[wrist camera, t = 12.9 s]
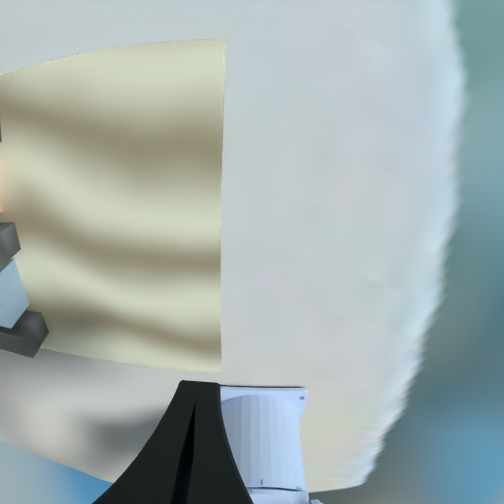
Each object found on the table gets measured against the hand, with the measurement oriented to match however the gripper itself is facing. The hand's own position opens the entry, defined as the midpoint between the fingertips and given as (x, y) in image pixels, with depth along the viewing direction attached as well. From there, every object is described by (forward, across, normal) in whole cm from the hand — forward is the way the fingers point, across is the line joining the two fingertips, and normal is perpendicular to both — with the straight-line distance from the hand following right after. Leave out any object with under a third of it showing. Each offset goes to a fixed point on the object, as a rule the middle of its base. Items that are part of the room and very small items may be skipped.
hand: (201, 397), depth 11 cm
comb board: (+9, +11, -2) cm, 15 cm away
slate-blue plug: (+9, +17, +2) cm, 19 cm away
